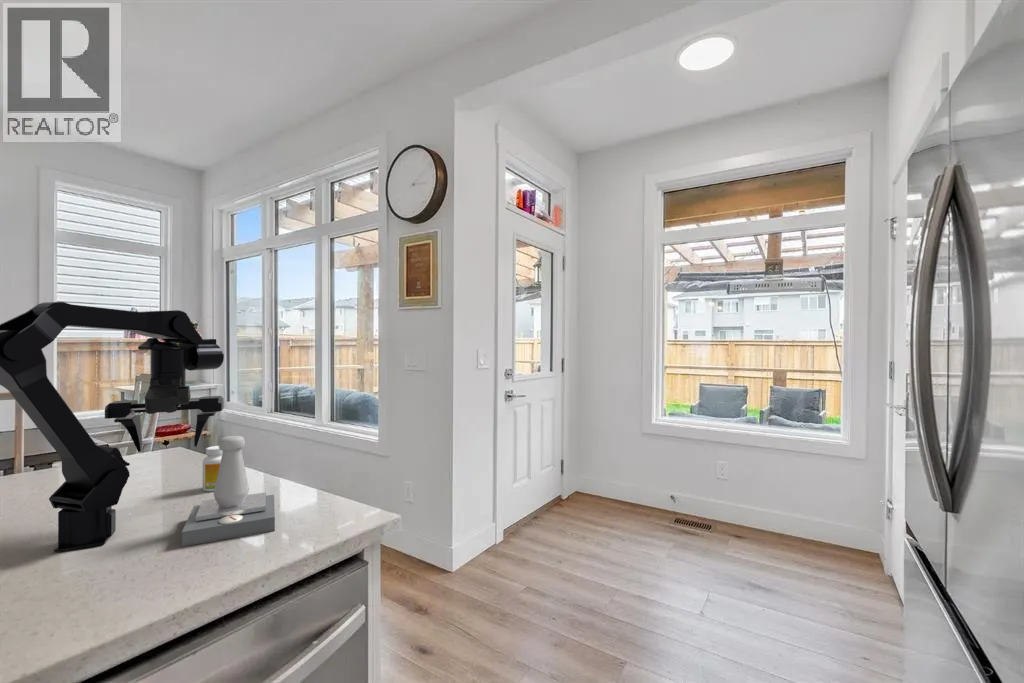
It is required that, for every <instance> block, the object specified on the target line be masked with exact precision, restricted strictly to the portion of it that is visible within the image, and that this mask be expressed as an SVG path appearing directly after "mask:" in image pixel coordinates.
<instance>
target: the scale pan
mask: <svg viewBox="0 0 1024 683" xmlns="http://www.w3.org/2000/svg"><path fill="white" fill-rule="evenodd" d="M266 496H267V492H258V493H251V494H248V495H247V497H246V499H245V502H244V503H242V504H241V505H239V506H234V507H229V508H224V507H219V505H218V503H217V501H216V500H215V498H214V499H208V500H202V501H201V503H200V505H201V506H200V508H199V510H198V513H197V515H196V521H199V520H206V519H213V518H219V517H226V516H231V515H239V514H245V513H252V512H258V511H265V510H266Z"/></svg>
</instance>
